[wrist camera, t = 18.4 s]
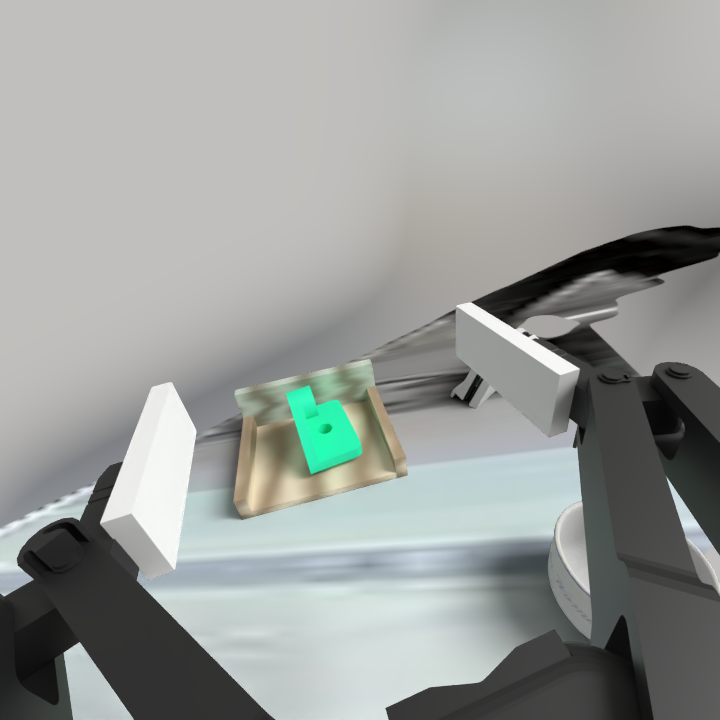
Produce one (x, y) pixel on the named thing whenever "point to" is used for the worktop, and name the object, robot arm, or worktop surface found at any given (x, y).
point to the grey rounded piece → (478, 384)
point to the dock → (284, 449)
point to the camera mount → (323, 430)
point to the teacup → (573, 568)
